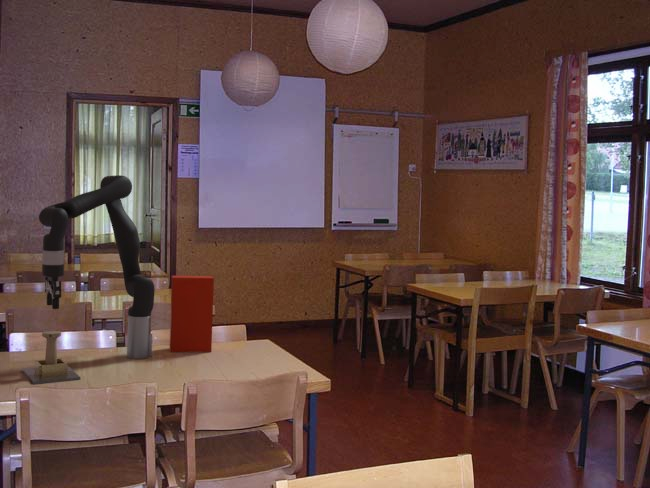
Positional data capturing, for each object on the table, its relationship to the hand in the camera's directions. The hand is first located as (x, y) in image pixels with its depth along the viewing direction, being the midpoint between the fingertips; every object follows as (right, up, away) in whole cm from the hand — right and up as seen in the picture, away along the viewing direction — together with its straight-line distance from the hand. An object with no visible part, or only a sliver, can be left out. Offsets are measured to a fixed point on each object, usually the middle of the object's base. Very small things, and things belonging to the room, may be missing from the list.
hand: (52, 307), depth 266 cm
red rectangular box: (+41, -23, +50) cm, 69 cm away
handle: (-1, -24, +1) cm, 24 cm away
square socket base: (-1, -25, +1) cm, 25 cm away
